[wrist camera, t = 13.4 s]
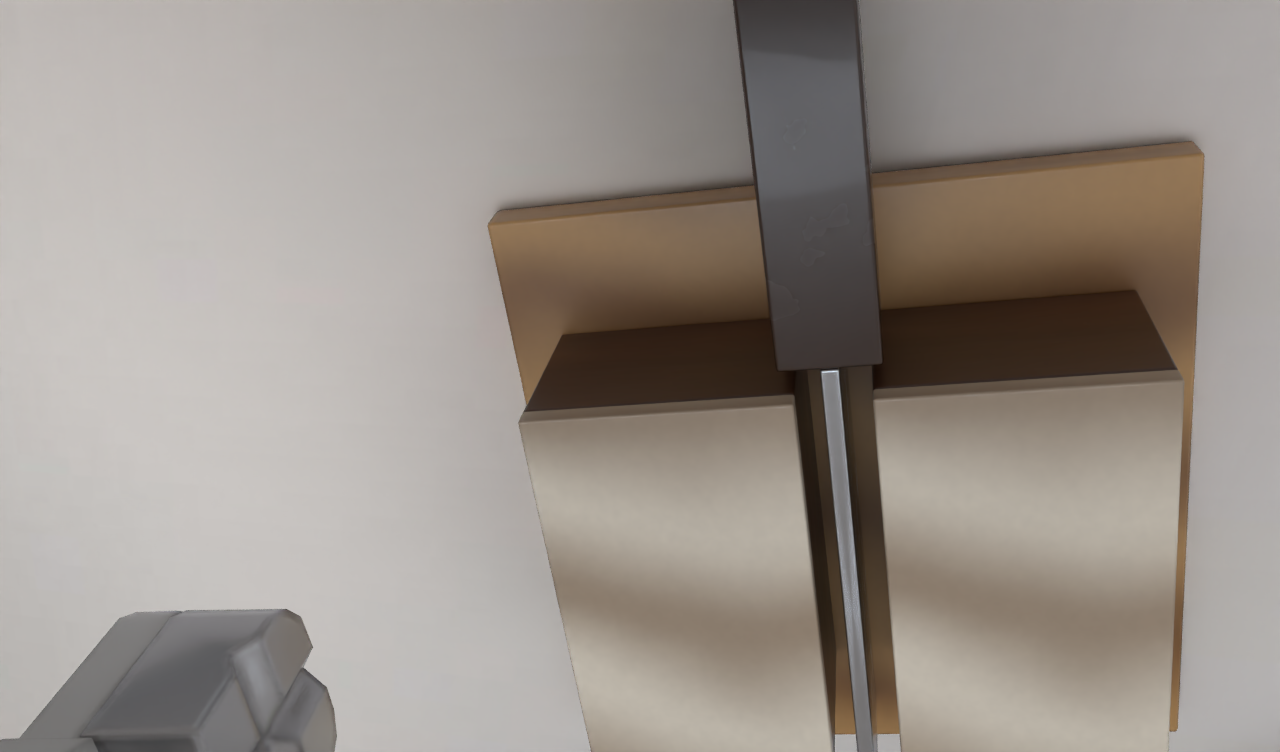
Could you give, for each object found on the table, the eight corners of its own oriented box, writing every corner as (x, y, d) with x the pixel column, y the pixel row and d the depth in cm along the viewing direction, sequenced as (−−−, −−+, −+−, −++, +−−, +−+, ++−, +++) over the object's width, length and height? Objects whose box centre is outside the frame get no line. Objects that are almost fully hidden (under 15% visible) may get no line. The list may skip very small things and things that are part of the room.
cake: (496, 210, 30) (428, 298, 25) (1194, 139, 27) (1269, 226, 22) (604, 714, 37) (566, 859, 32) (1169, 707, 34) (1223, 867, 29)
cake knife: (746, -57, 25) (729, -26, 22) (853, -72, 25) (853, -42, 21) (828, 694, 34) (825, 803, 30) (909, 693, 34) (916, 804, 30)
